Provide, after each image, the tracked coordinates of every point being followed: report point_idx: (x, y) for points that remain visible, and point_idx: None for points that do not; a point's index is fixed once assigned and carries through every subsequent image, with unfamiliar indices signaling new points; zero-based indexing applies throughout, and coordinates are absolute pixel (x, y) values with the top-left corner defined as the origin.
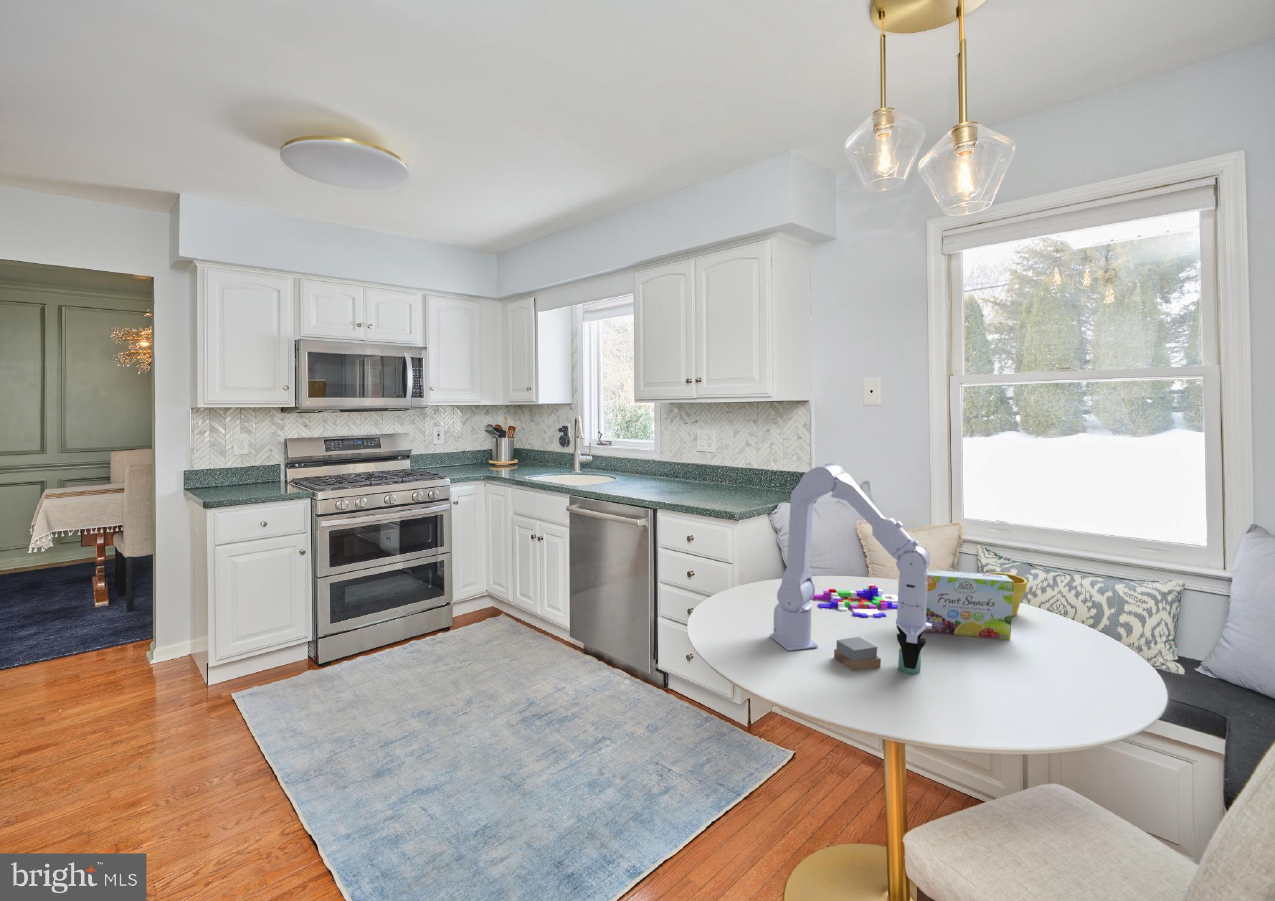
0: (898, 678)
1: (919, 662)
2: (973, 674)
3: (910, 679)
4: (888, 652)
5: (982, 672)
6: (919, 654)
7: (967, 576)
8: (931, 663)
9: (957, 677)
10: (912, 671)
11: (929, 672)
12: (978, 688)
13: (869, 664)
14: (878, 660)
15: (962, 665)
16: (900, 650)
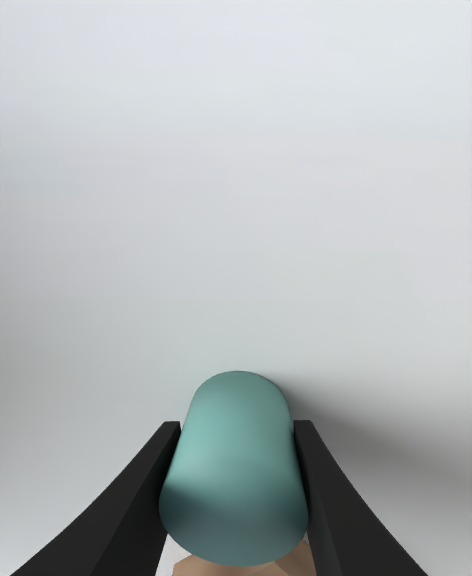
0: (365, 453)
1: (263, 418)
2: (131, 91)
3: (356, 410)
4: (92, 483)
5: (64, 28)
6: (253, 465)
7: None
8: (107, 321)
9: (227, 191)
10: (289, 412)
11: (230, 331)
12: (344, 59)
13: (310, 567)
14: (282, 558)
15: (31, 160)
16: (239, 559)
